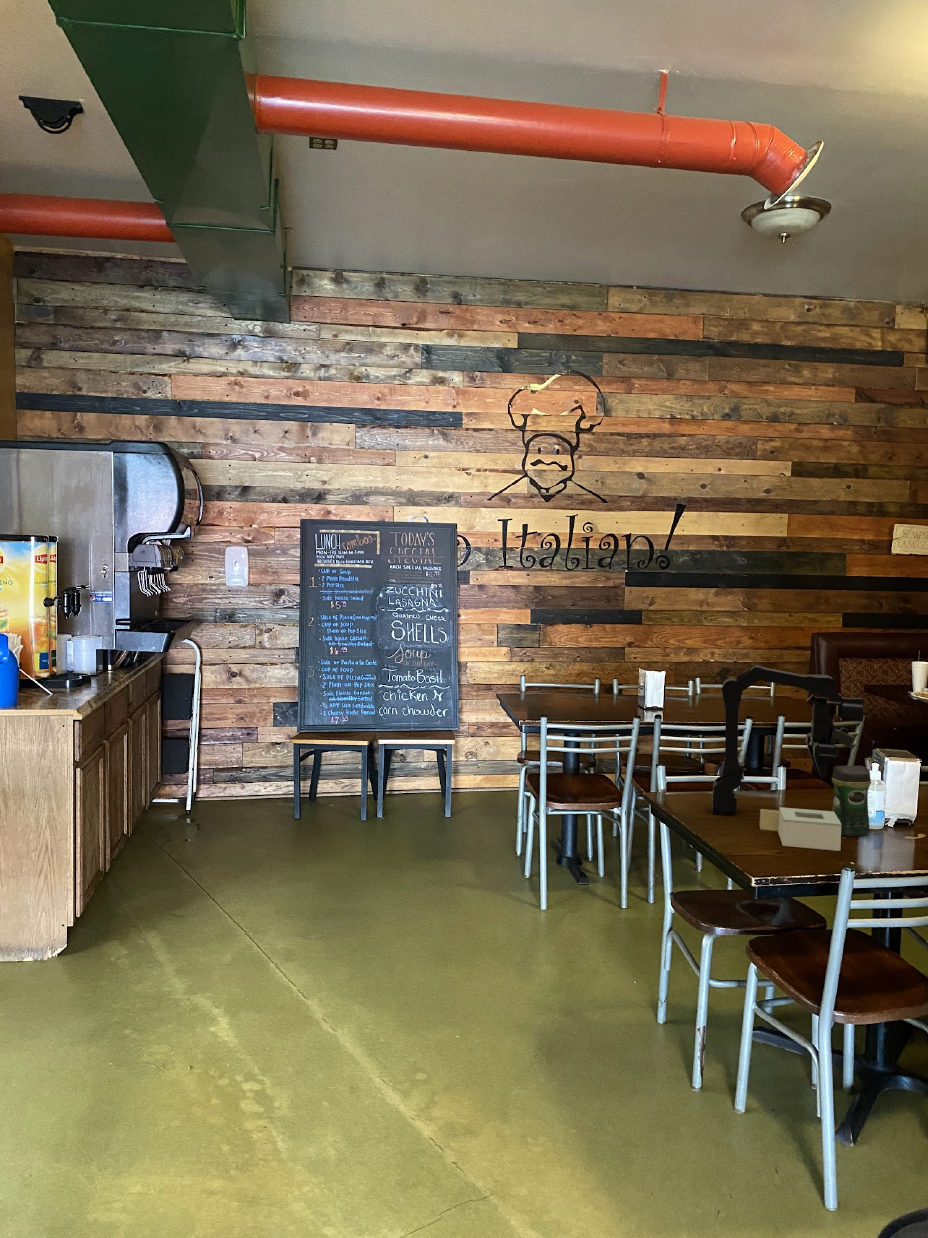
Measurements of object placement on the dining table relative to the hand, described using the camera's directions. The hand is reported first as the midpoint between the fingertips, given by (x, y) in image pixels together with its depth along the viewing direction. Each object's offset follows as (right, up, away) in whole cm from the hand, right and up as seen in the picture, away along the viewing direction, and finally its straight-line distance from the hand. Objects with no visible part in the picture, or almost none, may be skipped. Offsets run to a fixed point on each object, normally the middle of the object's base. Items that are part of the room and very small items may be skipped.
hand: (819, 773), depth 249 cm
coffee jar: (+4, -15, -9) cm, 18 cm away
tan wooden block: (-17, -14, -7) cm, 23 cm away
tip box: (-10, -15, -18) cm, 25 cm away
